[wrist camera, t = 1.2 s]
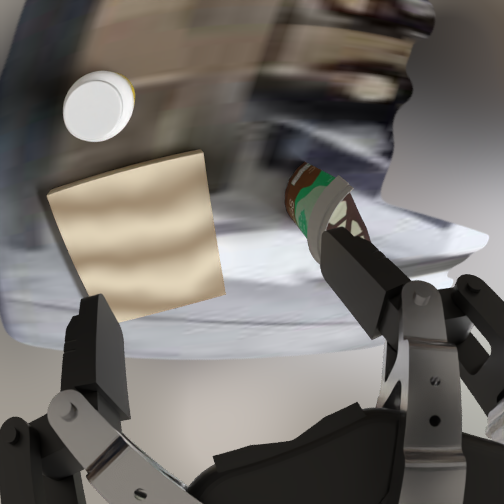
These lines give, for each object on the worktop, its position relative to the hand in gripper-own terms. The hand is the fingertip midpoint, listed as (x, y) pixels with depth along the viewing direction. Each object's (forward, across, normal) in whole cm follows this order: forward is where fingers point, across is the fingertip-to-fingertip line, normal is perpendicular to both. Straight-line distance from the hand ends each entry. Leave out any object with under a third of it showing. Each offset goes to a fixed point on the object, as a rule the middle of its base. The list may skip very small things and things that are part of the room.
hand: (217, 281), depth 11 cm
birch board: (+22, +5, +10) cm, 25 cm away
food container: (+22, -14, +11) cm, 28 cm away
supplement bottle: (+22, +5, -5) cm, 23 cm away
